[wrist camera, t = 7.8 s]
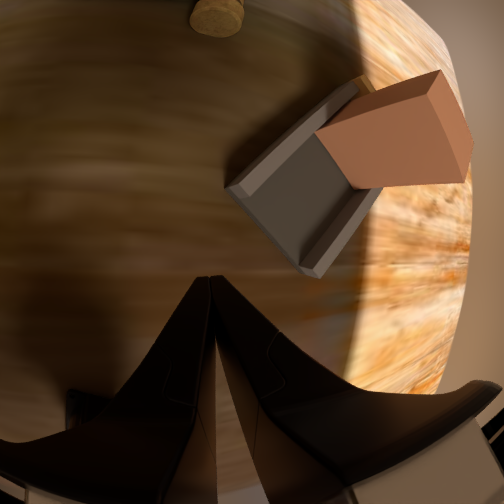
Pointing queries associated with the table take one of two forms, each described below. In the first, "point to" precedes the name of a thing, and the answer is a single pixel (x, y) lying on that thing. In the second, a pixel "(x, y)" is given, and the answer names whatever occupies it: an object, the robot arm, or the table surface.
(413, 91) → the block
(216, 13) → the gavel
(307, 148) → the gray tray
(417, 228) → the table surface
